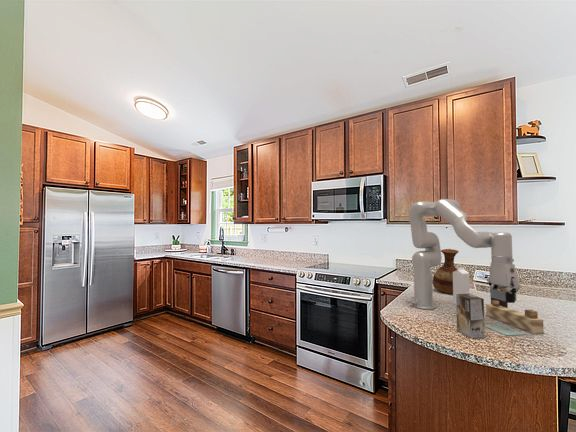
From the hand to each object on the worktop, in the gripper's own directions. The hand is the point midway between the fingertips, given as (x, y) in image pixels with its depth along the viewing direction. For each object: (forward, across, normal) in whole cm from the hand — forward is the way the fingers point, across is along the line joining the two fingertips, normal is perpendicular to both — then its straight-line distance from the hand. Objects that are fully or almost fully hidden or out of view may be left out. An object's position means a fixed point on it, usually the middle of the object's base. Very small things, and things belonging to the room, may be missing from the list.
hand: (503, 299), depth 125 cm
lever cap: (0, 0, 0) cm, 0 cm away
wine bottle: (+13, +21, -19) cm, 31 cm away
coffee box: (+13, -2, +18) cm, 23 cm away
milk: (+13, +38, -11) cm, 42 cm away
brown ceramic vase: (+13, +68, -26) cm, 74 cm away
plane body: (+13, +6, -11) cm, 18 cm away
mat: (+13, 0, 0) cm, 13 cm away
